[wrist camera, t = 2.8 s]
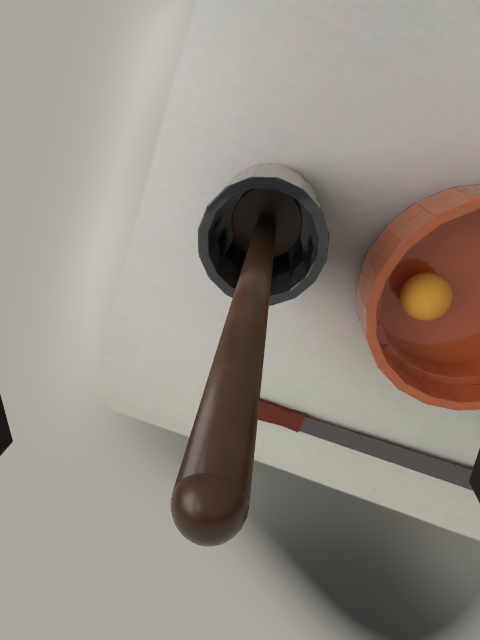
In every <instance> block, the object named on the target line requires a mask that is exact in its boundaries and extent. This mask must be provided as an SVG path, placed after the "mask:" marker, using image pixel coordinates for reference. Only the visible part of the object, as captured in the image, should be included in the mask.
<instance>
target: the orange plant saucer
mask: <svg viewBox="0 0 480 640" xmlns="http://www.w3.org/2000/svg"><path fill="white" fill-rule="evenodd" d="M425 272H429V273H435V274H437V275H440V276H441V277H443V278H444V279H445V280H446V281H447V282H448V283H449V285H450V287H451V289H452V294H453V299H452V303H451V305H450V307H449V309H448V310H447V312H446V313H445V314H443V315H442V316H441V317H439V318H437V319H434V320H428V321H423V320H418V319H415V318H413V317H411V316H410V315H408V314H407V313H406V312H405V310H404V309H403V307H402V305H401V302H400V292H401V289H402V287H403V285H404V283H405V282H406V281H407V280H408V279H409V278H411V277H412V276H414V275H416V274H419V273H425ZM356 293H357V315H358V318H359V320H360V323H361V326H362V328H363V331H364V334H365V336H366V339H367V342H368V344H369V346H370V349H371V351H372V354H373V356H374V359H375V361H376V364H377V366H378V368H379V369H380V370H381V371H382V372H383V373H384V374H385V375H386V376H387V378H388V379H389V380H390V381H391V382H392V383H393V384H394V385H395V386H396V387H397V388H398V389H399V390H401V391H403V392H405V393H406V394H408V395H410V396H412V397H414V398H416V399H418V400H420V401H422V402H423V403H425V404H429V405H434V406H439V407H444V408H449V409H454V410H476V409H480V184H476V185H468V186H460V187H452V188H449V189H447V190H445V191H442V192H440V193H438V194H435V195H433V196H431V197H428V198H426V199H424V200H421V201H419V202H417V203H416V204H413V205H412V206H411V207H410V208H408V209H407V210H406V211H405V212H403V213H402V214H401V215H400V216H398V217H397V218H396V219H395V220H393V221H392V222H391V223H390V224H388V225H387V226H386V227H385V229H384V230H383V231H382V233H381V234H380V236H379V237H378V239H377V240H376V241H375V243H374V244H373V246H372V247H371V249H370V250H369V251H368V253H367V254H366V256H365V259H364V263H363V266H362V269H361V272H360V275H359V278H358V281H357V285H356Z"/></svg>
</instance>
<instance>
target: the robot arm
mask: <svg viewBox="0 0 480 640" xmlns="http://www.w3.org/2000/svg"><path fill="white" fill-rule="evenodd" d="M12 442H13V440H12V436H11V433H10V429H9V425H8V422H7V418H6V414H5V410H4V406H3V403H2V399H1V396H0V455H1V454H2V453H3V452H4V451H5V450H6V449H7V447H8V446H9V445H10V444H11V443H12ZM469 483H470V485H471V487H472V489H473V491H474V493H475V495H476V496H477V498H478V500H479V502H480V449H479V452H478V455H477V458H476V461H475V464H474V467H473V470H472V473H471V476H470V479H469Z"/></svg>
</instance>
